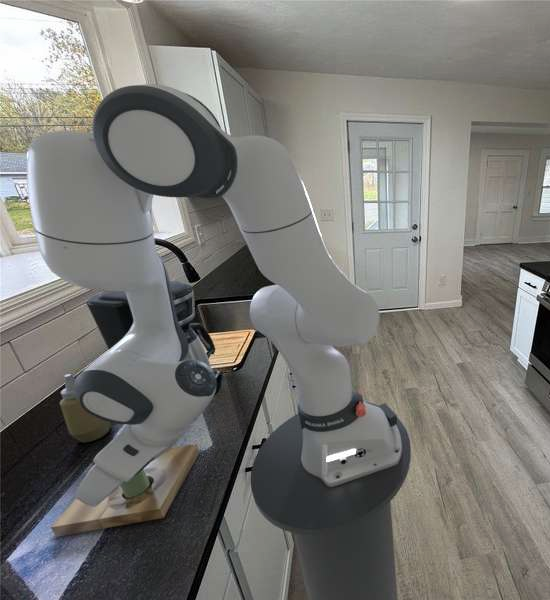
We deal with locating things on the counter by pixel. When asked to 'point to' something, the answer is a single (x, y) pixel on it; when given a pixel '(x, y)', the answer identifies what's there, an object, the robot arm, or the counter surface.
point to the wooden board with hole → (147, 506)
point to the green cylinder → (135, 485)
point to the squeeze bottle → (80, 416)
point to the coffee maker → (118, 320)
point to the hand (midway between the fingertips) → (124, 467)
